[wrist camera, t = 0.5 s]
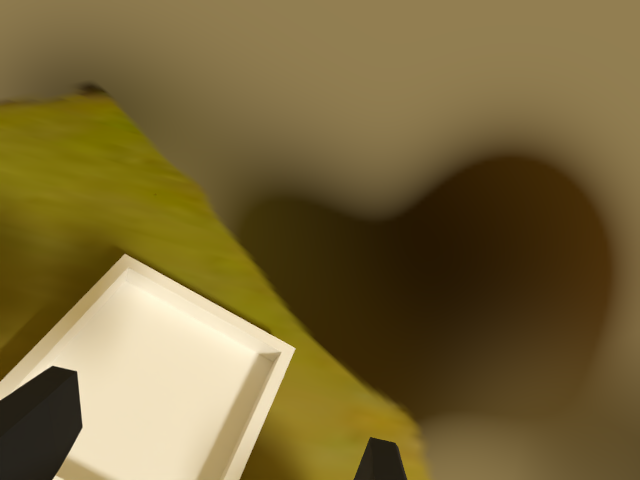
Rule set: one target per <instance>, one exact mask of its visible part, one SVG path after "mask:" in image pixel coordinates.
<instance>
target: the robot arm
mask: <svg viewBox="0 0 640 480" xmlns="http://www.w3.org/2000/svg"><path fill="white" fill-rule="evenodd" d="M82 428H83V425H82V415H81V405H80V395H79V385H78V374H77V371H74V370H70V369H65V368H61V367H56V366H51V367H49V368H48V369H46V370H45V371H43V372H42V373H40V374H39V375H37V376H36V377H34V378H33V379H31V380H30V381H28V382H27V383H25V384H24V385H22V386H21V387H19V388H18V389H16V390H15V391H13V392H12V393H10V394H9V395H7V396H6V397H4V398H3V399H2V400H0V480H53V478H54V477H55V475H56V474H57V472H58V471H59V469H60V468H61V466H62V464H63V462H64V461H65V459H66V457H67V455H68V454H69V452H70V450H71V448H72V446H73V444H74V443H75V441H76V439H77V437H78V435H79V433H80V432H81V430H82ZM354 480H407V477H406V474H405V471H404V467H403V464H402V460H401V457H400V453H399V449H398V446H397V445H396V443H394V442H389V441H385V440H380V439H376V438H372V437H370V439H369V441H368V444H367V447H366V449H365V452H364V454H363V457H362V460H361V462H360V465H359V467H358V470H357V473H356V475H355V478H354Z"/></svg>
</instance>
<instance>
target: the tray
mask: <svg viewBox="0 0 640 480" xmlns="http://www.w3.org/2000/svg"><path fill="white" fill-rule="evenodd" d="M294 351H295V348H294V347H292V346H290V345H288V344H287V343H285V342H283V341H281V340H279V339H278V338H276V337H274V336H272V335H270V334H269V333H267V332H265V331H263V330H261V329H260V328H258V327H256V326H254V325H252V324H251V323H249V322H247V321H245V320H243V319H242V318H240V317H238V316H236V315H234V314H233V313H231V312H229V311H227V310H225V309H224V308H222V307H220V306H218V305H216V304H215V303H213V302H211V301H209V300H207V299H205V298H204V297H202V296H200V295H198V294H196V293H195V292H193V291H191V290H189V289H187V288H186V287H184V286H182V285H180V284H178V283H177V282H175V281H173V280H171V279H169V278H168V277H166V276H164V275H162V274H160V273H159V272H157V271H155V270H153V269H151V268H150V267H148V266H146V265H144V264H142V263H141V262H139V261H137V260H135V259H133V258H132V257H130V256H128V255H126V254H124V255H123V256H122V257H121V258H120V259H119V260H118V261H117V262H116V263H115V264H114V266H113V267H112V268H111V269H110V270H109V271H108V272H107V273H106V274H105V275H104V276H103V277H102V278H101V279H100V280H99V281H98V282H97V283H96V284H95V285H94V286H93V287H92V288H91V289H90V290H89V291H88V292H87V293H86V294H85V295H84V296H83V297H82V298H81V299H80V300H79V301H78V303H77V304H76V305H75V306H74V307H73V308H72V309H71V310H70V311H69V312H68V313H67V314H66V315H65V316H64V317H63V318H62V319H61V320H60V321H59V322H58V323H57V324H56V325H55V326H54V327H53V328H52V329H51V330H50V331H49V332H48V333H47V334H46V335H45V336H44V337H43V338H42V339H41V341H40V342H39V343H38V344H37V345H36V346H35V347H34V348H33V349H32V350H31V351H30V352H29V353H28V354H27V355H26V356H25V357H24V358H23V359H22V360H21V361H20V362H19V363H18V364H17V365H16V366H15V367H14V368H13V369H12V370H11V371H10V372H9V373H8V374H7V375H6V376H5V377H4V379H3V380H2V381H1V382H0V400H2V399H3V398H4V397H6V396H7V395H9V394H10V393H12V392H13V391H15V390H16V389H18V388H19V387H21V386H22V385H24V384H25V383H27V382H28V381H30V380H31V379H33V378H34V377H36V376H37V375H39V374H40V373H42V372H43V371H45V370H46V369H48V368H49V367H51V366H56V367H61V368H65V369H70V370H74V371H77V374H78V385H79V395H80V405H81V415H82V425H83V428H82V430H81V432H80V433H79V435H78V437H77V439H76V441H75V443H74V444H73V446H72V448H71V450H70V452H69V454H68V455H67V457H66V459H65V461H64V462H63V464H62V466H61V468H60V469H59V471H58V472H57V474H56V475H55V477H54V478H53V480H239V479H240V477H241V475H242V472H243V470H244V468H245V465H246V463H247V461H248V458H249V456H250V454H251V451H252V449H253V447H254V444H255V442H256V440H257V437H258V435H259V433H260V430H261V428H262V426H263V423H264V421H265V419H266V416H267V414H268V411H269V409H270V407H271V404H272V402H273V400H274V397H275V395H276V393H277V390H278V388H279V386H280V383H281V381H282V379H283V376H284V374H285V372H286V369H287V367H288V365H289V362H290V360H291V358H292V355H293V353H294Z"/></svg>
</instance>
